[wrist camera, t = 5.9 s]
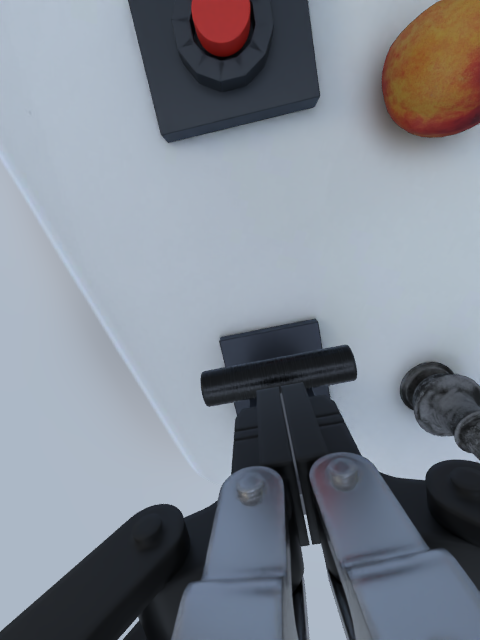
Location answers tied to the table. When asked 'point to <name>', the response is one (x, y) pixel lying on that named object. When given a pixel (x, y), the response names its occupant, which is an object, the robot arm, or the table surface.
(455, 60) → the fruit
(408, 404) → the black chess piece
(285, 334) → the bracket
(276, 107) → the control block
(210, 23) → the button
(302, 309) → the table surface
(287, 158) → the table surface
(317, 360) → the lever
